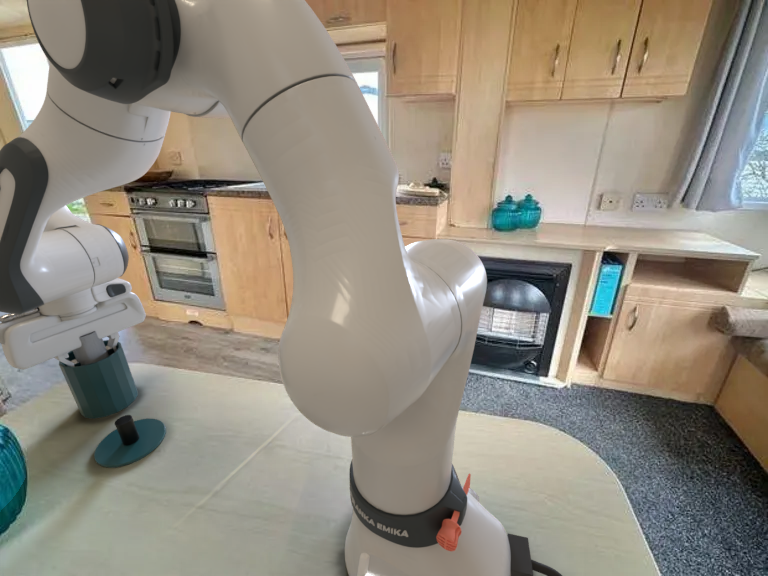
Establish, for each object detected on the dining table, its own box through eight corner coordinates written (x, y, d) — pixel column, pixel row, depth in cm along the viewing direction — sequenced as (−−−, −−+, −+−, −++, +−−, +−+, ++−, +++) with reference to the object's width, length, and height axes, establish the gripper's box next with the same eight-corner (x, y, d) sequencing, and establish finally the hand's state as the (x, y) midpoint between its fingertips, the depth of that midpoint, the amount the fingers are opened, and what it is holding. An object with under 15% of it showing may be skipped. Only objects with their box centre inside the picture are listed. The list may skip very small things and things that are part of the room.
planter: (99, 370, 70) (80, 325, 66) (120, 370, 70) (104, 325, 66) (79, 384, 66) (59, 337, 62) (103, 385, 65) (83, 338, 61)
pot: (147, 397, 72) (130, 347, 67) (96, 427, 64) (73, 373, 60) (124, 383, 76) (106, 335, 71) (73, 409, 69) (49, 358, 64)
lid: (179, 435, 62) (171, 411, 60) (115, 480, 54) (104, 454, 52) (147, 415, 67) (138, 392, 65) (84, 454, 59) (72, 429, 57)
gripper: (-8, 325, 51) (30, 400, 56) (139, 280, 67) (158, 341, 73) (-23, 316, 54) (15, 388, 59) (122, 274, 70) (141, 334, 76)
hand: (95, 362), depth 66 cm, fingers closed on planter, 4 cm apart
